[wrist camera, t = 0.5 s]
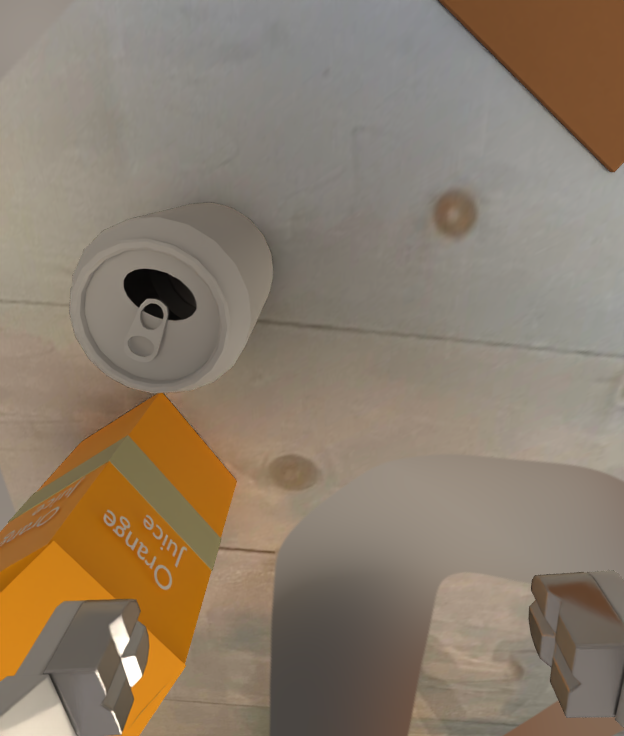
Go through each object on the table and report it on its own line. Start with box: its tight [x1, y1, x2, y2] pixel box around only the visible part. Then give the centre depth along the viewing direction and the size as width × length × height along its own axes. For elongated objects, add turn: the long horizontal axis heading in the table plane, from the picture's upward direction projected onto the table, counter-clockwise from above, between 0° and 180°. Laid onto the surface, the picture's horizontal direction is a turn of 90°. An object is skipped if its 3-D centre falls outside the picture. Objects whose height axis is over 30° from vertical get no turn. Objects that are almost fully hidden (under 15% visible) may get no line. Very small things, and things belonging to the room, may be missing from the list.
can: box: [69, 202, 274, 393], centre depth 24 cm, size 8×8×12 cm
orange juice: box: [0, 393, 237, 736], centre depth 26 cm, size 8×9×20 cm
